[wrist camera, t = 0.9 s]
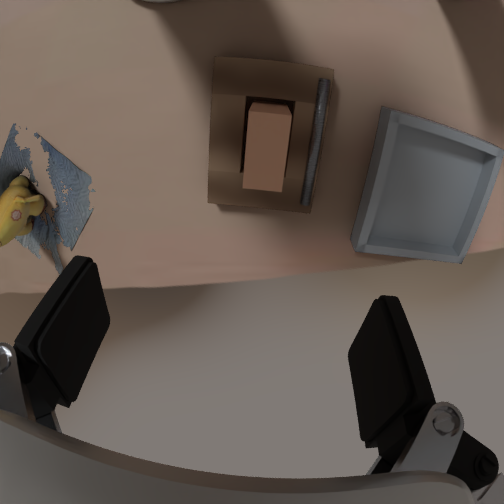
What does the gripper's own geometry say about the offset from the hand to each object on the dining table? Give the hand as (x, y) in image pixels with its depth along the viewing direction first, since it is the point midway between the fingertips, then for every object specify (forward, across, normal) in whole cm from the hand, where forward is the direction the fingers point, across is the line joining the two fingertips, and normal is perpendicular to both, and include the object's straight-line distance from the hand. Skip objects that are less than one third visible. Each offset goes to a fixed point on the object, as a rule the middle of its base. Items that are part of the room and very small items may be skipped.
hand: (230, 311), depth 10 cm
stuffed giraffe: (+22, +28, +9) cm, 37 cm away
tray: (+22, -19, +1) cm, 29 cm away
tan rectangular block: (+22, -1, -1) cm, 22 cm away
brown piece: (+22, -1, -1) cm, 22 cm away
